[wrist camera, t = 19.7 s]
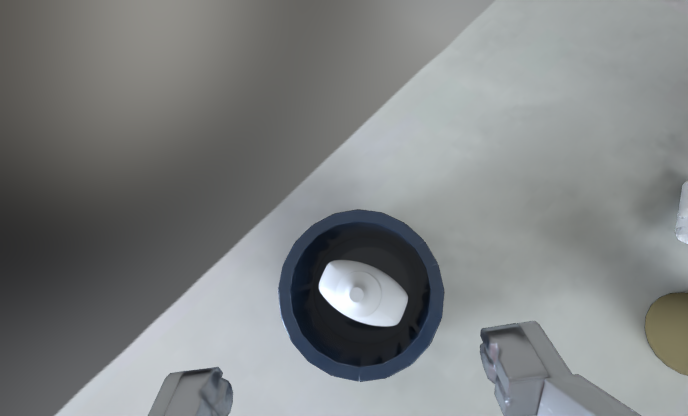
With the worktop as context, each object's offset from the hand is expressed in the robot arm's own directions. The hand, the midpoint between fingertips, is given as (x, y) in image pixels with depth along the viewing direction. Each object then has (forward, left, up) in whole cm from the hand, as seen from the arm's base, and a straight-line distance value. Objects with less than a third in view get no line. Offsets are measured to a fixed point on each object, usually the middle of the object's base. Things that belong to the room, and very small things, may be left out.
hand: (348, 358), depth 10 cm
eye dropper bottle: (0, -2, -17) cm, 17 cm away
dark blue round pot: (0, -2, -18) cm, 18 cm away
